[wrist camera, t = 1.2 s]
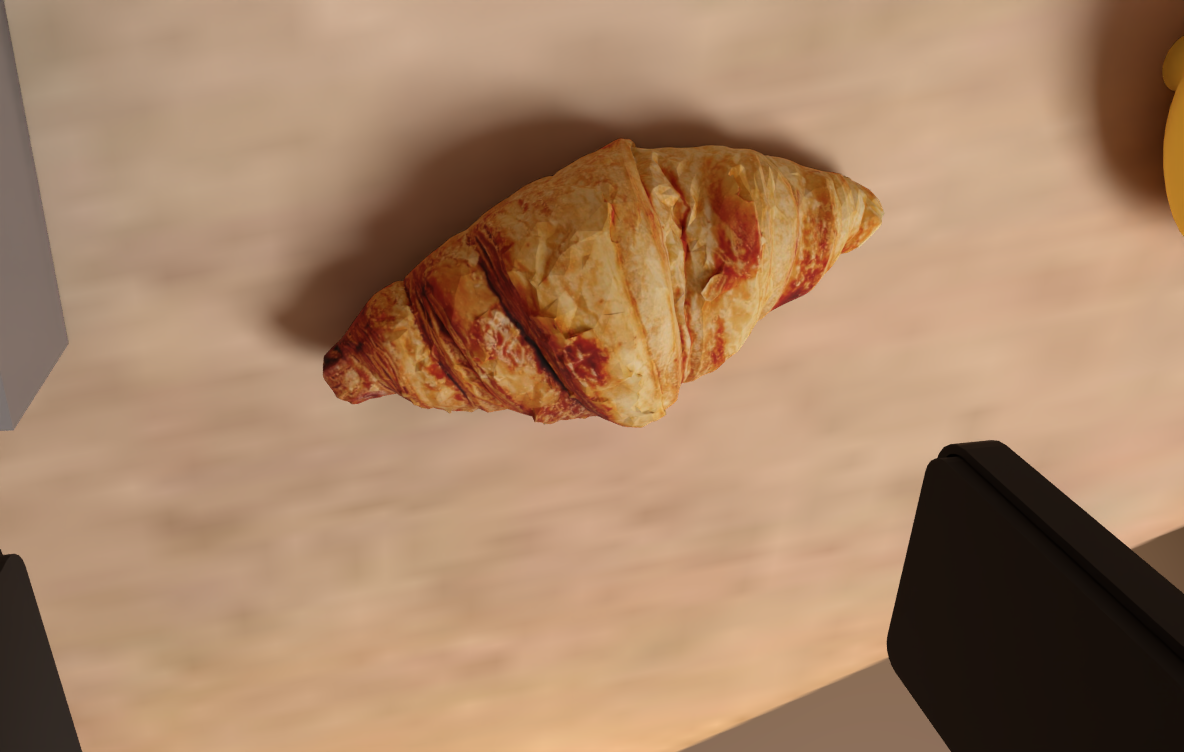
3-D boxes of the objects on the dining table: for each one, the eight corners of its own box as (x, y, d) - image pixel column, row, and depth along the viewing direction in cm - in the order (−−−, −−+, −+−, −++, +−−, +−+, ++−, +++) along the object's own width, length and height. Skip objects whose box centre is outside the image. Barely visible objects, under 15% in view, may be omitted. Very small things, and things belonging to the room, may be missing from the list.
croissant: (808, 102, 38) (892, 27, 30) (885, 335, 38) (989, 323, 30) (302, 263, 36) (248, 229, 28) (388, 510, 36) (359, 546, 28)
